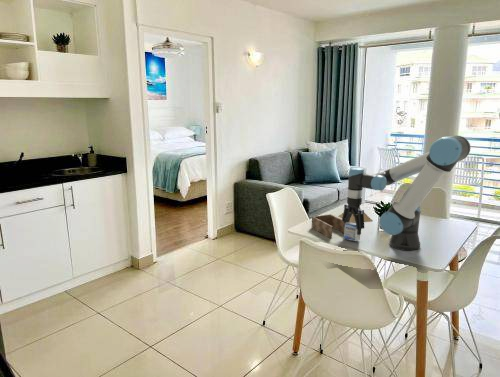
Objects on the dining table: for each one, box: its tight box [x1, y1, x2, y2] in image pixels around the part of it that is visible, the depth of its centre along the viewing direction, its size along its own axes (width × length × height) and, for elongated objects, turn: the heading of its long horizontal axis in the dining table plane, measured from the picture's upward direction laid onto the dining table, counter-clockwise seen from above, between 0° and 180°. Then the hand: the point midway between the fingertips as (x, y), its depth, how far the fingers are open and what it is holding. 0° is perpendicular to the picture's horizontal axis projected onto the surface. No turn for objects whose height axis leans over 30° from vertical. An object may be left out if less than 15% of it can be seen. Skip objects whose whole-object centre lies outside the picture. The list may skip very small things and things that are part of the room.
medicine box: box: [343, 222, 359, 241], centre depth 207 cm, size 8×4×9 cm, turn 62°
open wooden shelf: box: [311, 213, 345, 239], centre depth 222 cm, size 20×13×7 cm, turn 23°
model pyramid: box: [337, 212, 374, 223], centre depth 246 cm, size 17×17×10 cm
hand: (351, 237), depth 208 cm, fingers closed on medicine box, 9 cm apart
